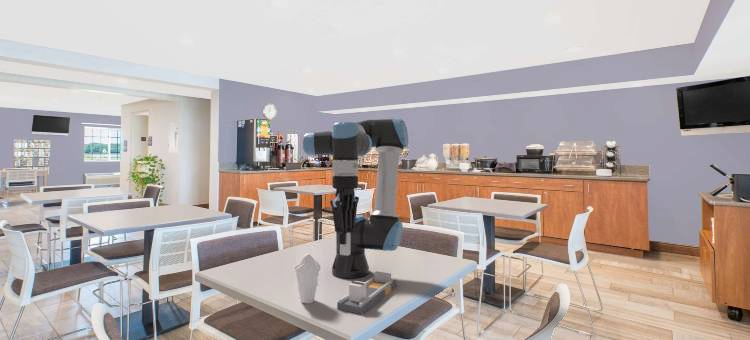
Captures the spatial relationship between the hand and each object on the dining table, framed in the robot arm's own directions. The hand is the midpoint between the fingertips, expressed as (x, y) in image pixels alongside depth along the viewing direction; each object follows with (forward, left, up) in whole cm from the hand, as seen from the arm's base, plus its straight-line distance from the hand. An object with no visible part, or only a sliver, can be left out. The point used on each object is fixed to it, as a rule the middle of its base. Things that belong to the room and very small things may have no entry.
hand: (345, 254), depth 107 cm
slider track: (0, +17, -18) cm, 25 cm away
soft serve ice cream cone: (-17, +4, -19) cm, 25 cm away
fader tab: (0, +8, -16) cm, 18 cm away
